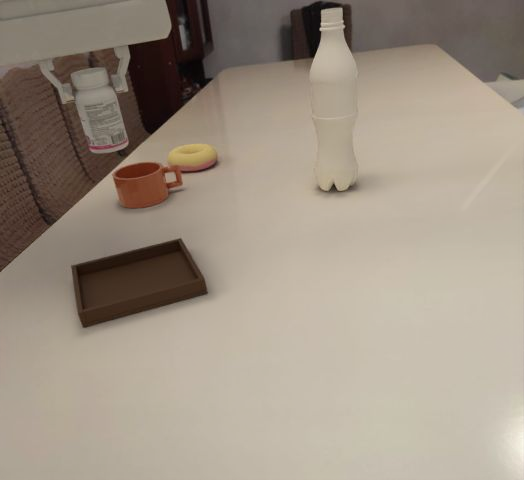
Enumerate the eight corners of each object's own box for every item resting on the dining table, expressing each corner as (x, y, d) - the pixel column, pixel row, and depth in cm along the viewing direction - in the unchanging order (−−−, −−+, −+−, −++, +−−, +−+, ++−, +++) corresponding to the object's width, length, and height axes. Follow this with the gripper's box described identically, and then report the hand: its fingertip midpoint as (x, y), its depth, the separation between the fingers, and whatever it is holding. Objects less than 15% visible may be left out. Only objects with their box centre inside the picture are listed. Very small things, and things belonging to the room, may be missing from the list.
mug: (123, 212, 90) (115, 183, 87) (117, 196, 96) (109, 168, 93) (189, 196, 92) (183, 168, 89) (178, 182, 99) (173, 155, 96)
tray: (83, 327, 62) (77, 313, 61) (75, 278, 72) (71, 265, 71) (207, 293, 65) (204, 279, 64) (183, 250, 75) (181, 237, 74)
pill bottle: (91, 145, 66) (68, 70, 61) (129, 139, 67) (110, 64, 61) (88, 156, 62) (64, 77, 57) (129, 149, 63) (108, 70, 58)
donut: (200, 185, 102) (227, 162, 107) (197, 163, 98) (225, 140, 103) (160, 173, 106) (188, 151, 111) (155, 151, 102) (184, 130, 107)
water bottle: (310, 194, 87) (300, 15, 72) (319, 178, 92) (312, 8, 77) (354, 194, 85) (353, 10, 70) (361, 178, 90) (361, 3, 75)
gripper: (149, -65, 57) (176, 76, 66) (-51, -39, 53) (5, 109, 61) (161, -69, 52) (188, 84, 61) (-59, -41, 48) (3, 120, 56)
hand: (95, 97), depth 61 cm, fingers closed on pill bottle, 5 cm apart
